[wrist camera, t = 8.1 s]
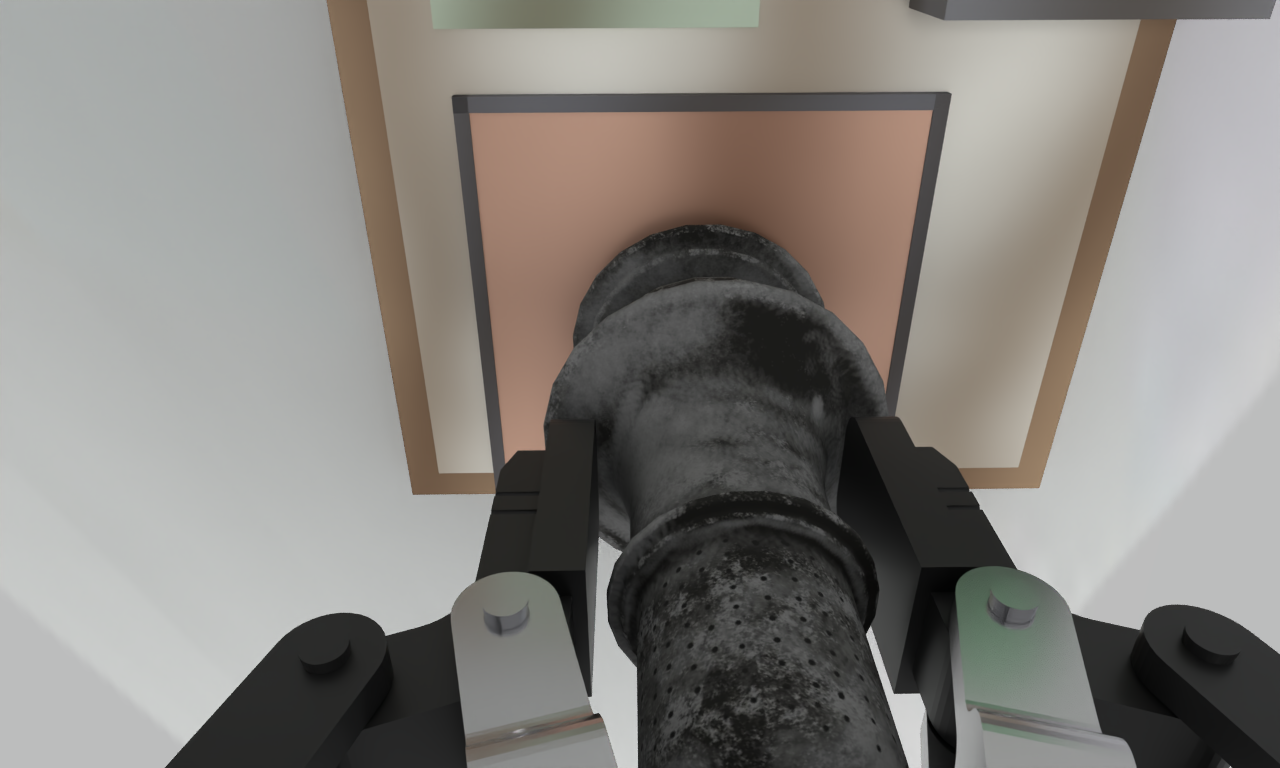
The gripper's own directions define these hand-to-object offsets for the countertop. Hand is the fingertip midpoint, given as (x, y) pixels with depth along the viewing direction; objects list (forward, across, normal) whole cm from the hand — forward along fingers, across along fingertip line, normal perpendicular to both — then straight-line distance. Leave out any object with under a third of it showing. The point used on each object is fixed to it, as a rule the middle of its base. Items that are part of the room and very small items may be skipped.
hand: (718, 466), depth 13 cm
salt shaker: (+5, 0, 0) cm, 5 cm away
